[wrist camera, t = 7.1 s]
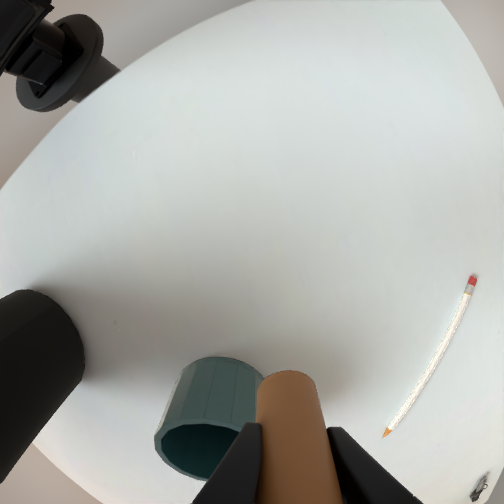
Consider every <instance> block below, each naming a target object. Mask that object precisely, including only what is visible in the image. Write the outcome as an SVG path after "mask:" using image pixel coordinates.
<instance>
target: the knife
mask: <svg viewBox="0 0 504 504" xmlns="http://www.w3.org/2000/svg"><path fill="white" fill-rule="evenodd" d="M485 482H486V476H485V477H484V478H483V479H482V480H481V482H480V483H479V485H478V488H477V489H476V490H474V492H473V493H472V494H471V495H470V498H472V497H473V498H472V499H471V500H472V502H474V501H477V500H478V498H479V495H480V493H481V492H482V491H483V489H486V488H487V487H486V488H483V487H484V484H485ZM485 485H487V484H485ZM487 486H488V485H487Z"/></svg>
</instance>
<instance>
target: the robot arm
mask: <svg viewBox="0 0 504 504" xmlns="http://www.w3.org/2000/svg"><path fill="white" fill-rule="evenodd" d="M51 1H52V0H0V76H1V75H2V73H3V72H5V73H8V74H11V75H14V76H17V77H20V78H22V79H25V80H27V81H28V83H29V86H30V88H31V90H32V93H33V95H34V97H35V98H37V99H40V98H41V97H42V96H43V95H44V93H45V92H46V91H47V90H48V89H49V88H50V87H51V85H52V84H53V83H54V82H55V81H56V80H57V79H58V78H59V77H60V76H61V75H62V74H63V73H64V72H65V71H66V69H67V68H68V67H69V66H70V65H71V64H72V63H73V62H75V61H76V60H77V59H78V58H79V57H80V56H81V55H82V54H83V52H84V49H83V47H82V46H81V44H80V43H79V41H78V39H77V38H76V36H75V35H74V33H73V32H72V30H71V29H70V27H69V25H68V24H67V23H66V22H62V23H61V24H59V25H58V26H57V27H56V26H54V25H53V24H51V23H50V22H48V21H47V20H45V19H44V17H45V16H46V15H47V14H48V13H49V12H51V11H52V10H53V9H54V7H53V6H52V5H51V4H50V3H51ZM78 51H79V52H78ZM326 430H327V434H328V439H329V443H330V447H331V451H332V456H333V460H334V464H335V469H336V473H337V477H338V482H339V486H340V491H341V495H342V500H343V504H423V503H422V502H421V501H420V500H419V499H418V498H416V497H415V496H413V494H412V493H411V492H409V491H408V490H407V489H406V488H405V487H404V486H403V485H402V484H401V483H399V482H398V481H397V480H396V479H395V478H394V477H393V476H392V475H391V474H390V473H389V472H387V471H386V470H385V469H384V468H383V467H382V466H381V465H380V464H379V463H378V462H377V461H376V460H375V459H374V458H373V457H372V456H370V455H369V454H368V453H367V452H366V451H365V450H364V449H363V448H362V447H361V446H360V445H359V444H358V443H357V442H356V441H355V440H354V439H353V438H352V437H351V436H350V435H349V434H348V433H347V432H346V431H345V430H344V429H343V428H341V427H328V428H327V429H326ZM261 462H262V436H261V424H260V423H255V422H246V423H245V424H244V426H243V428H242V429H241V431H240V432H239V434H238V436H237V437H236V439H235V440H234V442H233V443H232V445H231V447H230V448H229V450H228V451H227V453H226V454H225V456H224V457H223V459H222V460H221V462H220V463H219V465H218V466H217V468H216V469H215V471H214V472H213V474H212V475H211V476H210V478H209V479H208V481H207V482H206V484H205V485H204V486H203V488H202V489H201V491H200V492H199V493H198V495H197V496H196V498H195V499H194V500H193V502H192V503H191V504H254V499H255V494H256V489H257V484H258V479H259V473H260V468H261Z"/></svg>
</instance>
